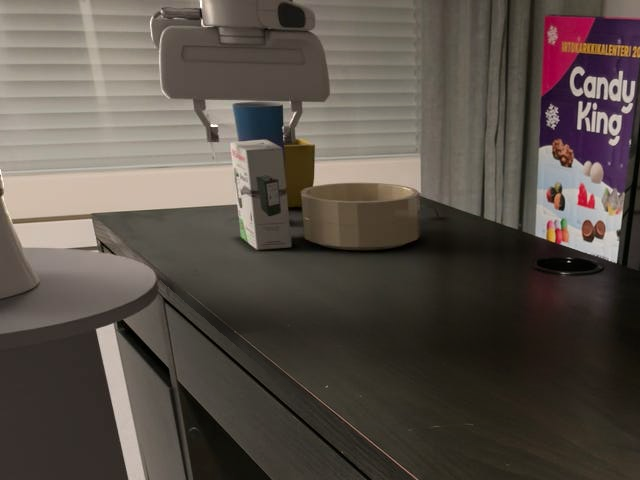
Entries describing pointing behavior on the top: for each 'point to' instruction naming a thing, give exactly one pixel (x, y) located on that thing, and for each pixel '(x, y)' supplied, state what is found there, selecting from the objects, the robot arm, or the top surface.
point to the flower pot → (298, 169)
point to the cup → (260, 122)
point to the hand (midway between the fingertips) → (251, 142)
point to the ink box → (261, 194)
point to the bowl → (360, 215)
